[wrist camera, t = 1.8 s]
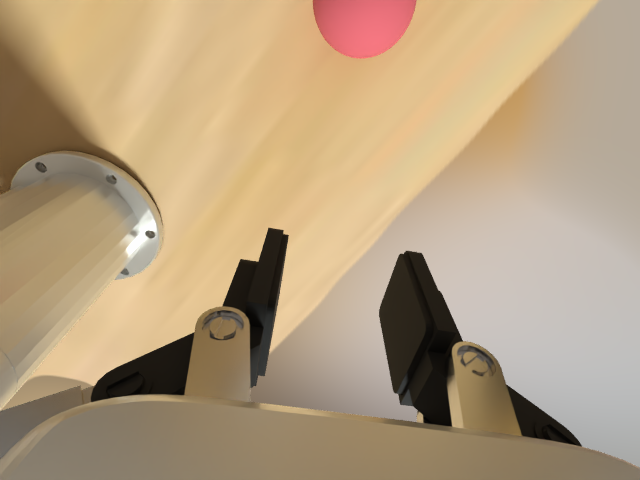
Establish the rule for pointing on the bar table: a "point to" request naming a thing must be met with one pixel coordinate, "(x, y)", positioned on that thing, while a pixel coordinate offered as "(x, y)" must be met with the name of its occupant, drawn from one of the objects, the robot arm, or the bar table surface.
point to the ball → (363, 24)
